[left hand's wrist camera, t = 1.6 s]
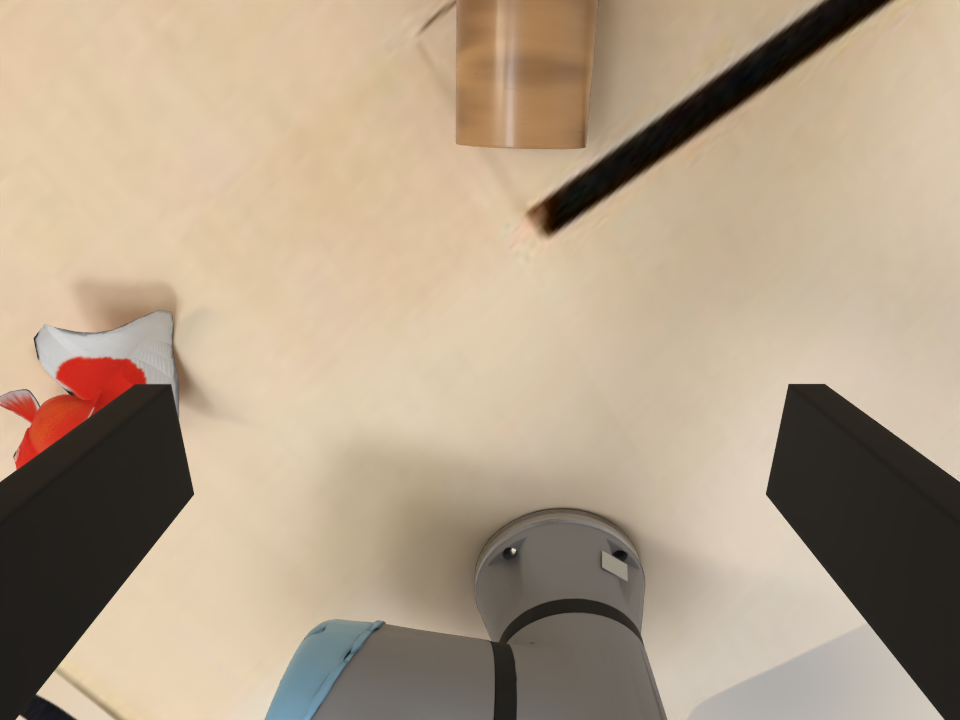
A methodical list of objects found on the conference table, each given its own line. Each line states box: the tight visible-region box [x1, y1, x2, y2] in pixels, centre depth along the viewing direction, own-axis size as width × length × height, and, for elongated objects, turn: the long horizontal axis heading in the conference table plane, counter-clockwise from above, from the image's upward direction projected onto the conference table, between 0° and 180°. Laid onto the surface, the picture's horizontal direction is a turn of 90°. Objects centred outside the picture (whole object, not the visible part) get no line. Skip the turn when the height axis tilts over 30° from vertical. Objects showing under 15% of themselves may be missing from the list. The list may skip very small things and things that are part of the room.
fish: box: [0, 310, 179, 470], centre depth 43 cm, size 11×16×10 cm
